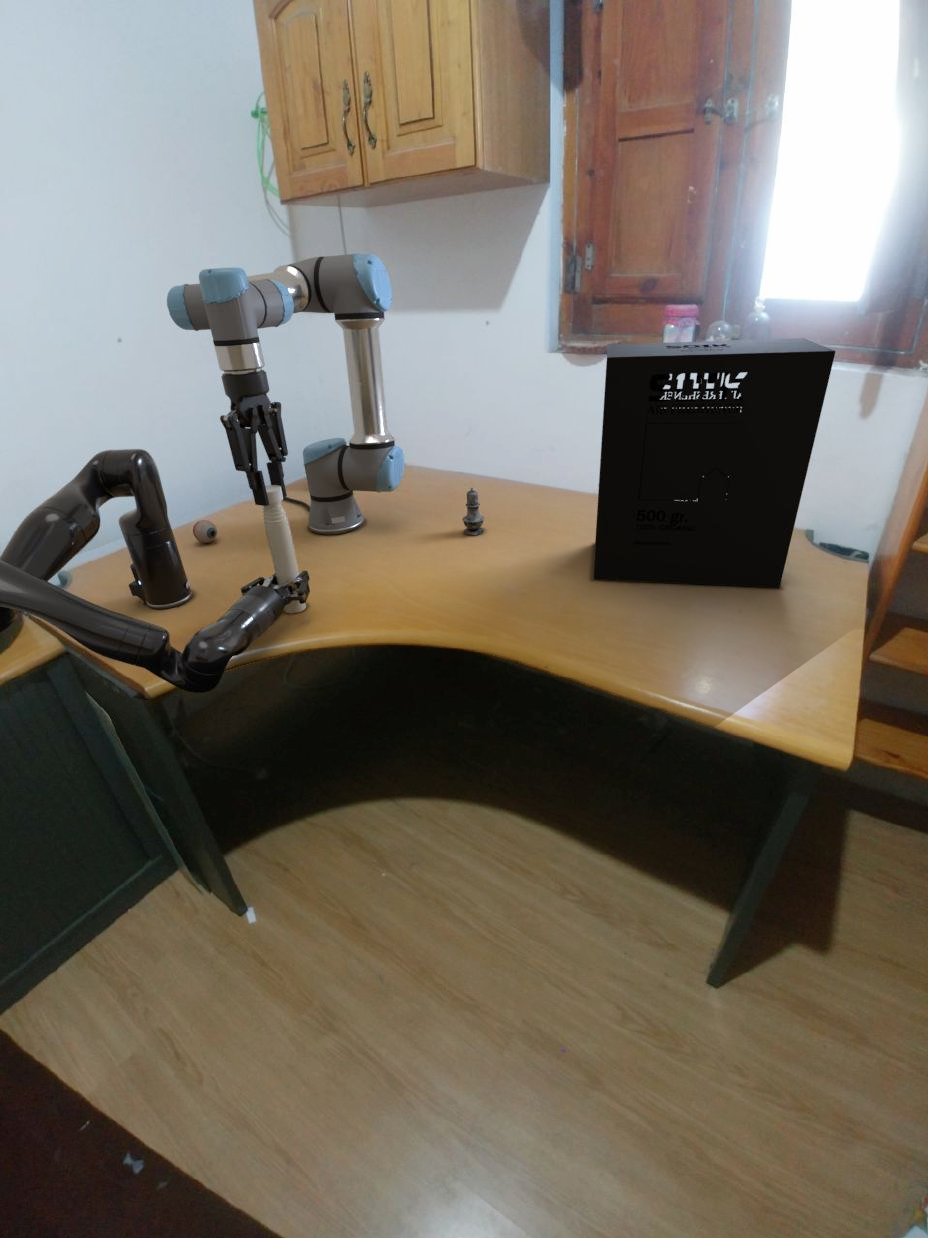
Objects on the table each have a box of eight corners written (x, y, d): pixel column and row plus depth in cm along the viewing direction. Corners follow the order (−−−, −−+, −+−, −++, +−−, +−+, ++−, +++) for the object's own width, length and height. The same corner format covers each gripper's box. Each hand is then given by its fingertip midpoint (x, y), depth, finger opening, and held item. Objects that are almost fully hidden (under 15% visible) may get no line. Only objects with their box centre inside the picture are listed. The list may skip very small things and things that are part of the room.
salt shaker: (482, 535, 157) (481, 491, 151) (460, 535, 158) (458, 490, 152) (486, 527, 162) (485, 483, 156) (465, 526, 163) (463, 483, 157)
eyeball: (206, 547, 159) (200, 526, 156) (191, 543, 162) (185, 522, 159) (225, 539, 164) (219, 518, 161) (210, 536, 167) (204, 515, 164)
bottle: (302, 613, 126) (277, 495, 113) (280, 613, 126) (253, 496, 113) (308, 602, 130) (285, 487, 117) (287, 603, 130) (261, 488, 117)
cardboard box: (759, 548, 141) (803, 338, 119) (779, 587, 124) (835, 350, 102) (595, 543, 149) (607, 344, 126) (593, 579, 132) (607, 357, 109)
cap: (257, 499, 117) (254, 487, 116) (280, 494, 119) (278, 483, 118) (262, 505, 113) (259, 494, 112) (286, 500, 115) (283, 489, 114)
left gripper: (224, 628, 116) (267, 588, 130) (293, 633, 113) (329, 591, 127) (214, 593, 112) (260, 556, 127) (285, 598, 109) (323, 559, 124)
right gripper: (260, 363, 113) (285, 484, 124) (188, 378, 99) (223, 513, 111) (292, 363, 110) (314, 487, 121) (222, 379, 96) (255, 517, 108)
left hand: (294, 574), depth 127 cm, fingers closed on bottle, 4 cm apart
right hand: (271, 499), depth 116 cm, fingers closed on cap, 4 cm apart
